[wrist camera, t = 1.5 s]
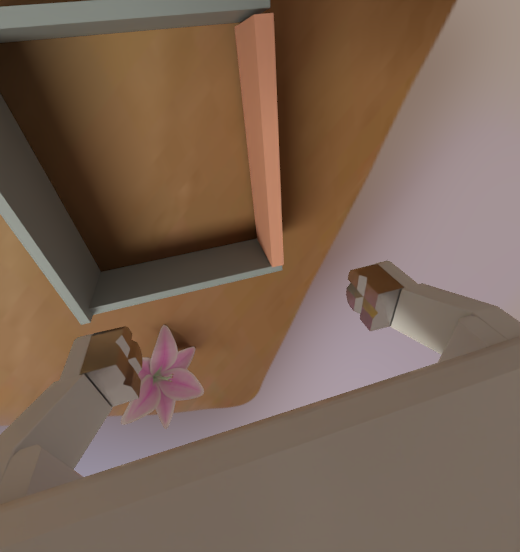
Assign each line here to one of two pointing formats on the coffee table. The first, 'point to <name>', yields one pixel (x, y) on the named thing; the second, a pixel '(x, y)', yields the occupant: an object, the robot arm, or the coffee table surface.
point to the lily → (164, 381)
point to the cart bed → (46, 203)
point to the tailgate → (262, 128)
